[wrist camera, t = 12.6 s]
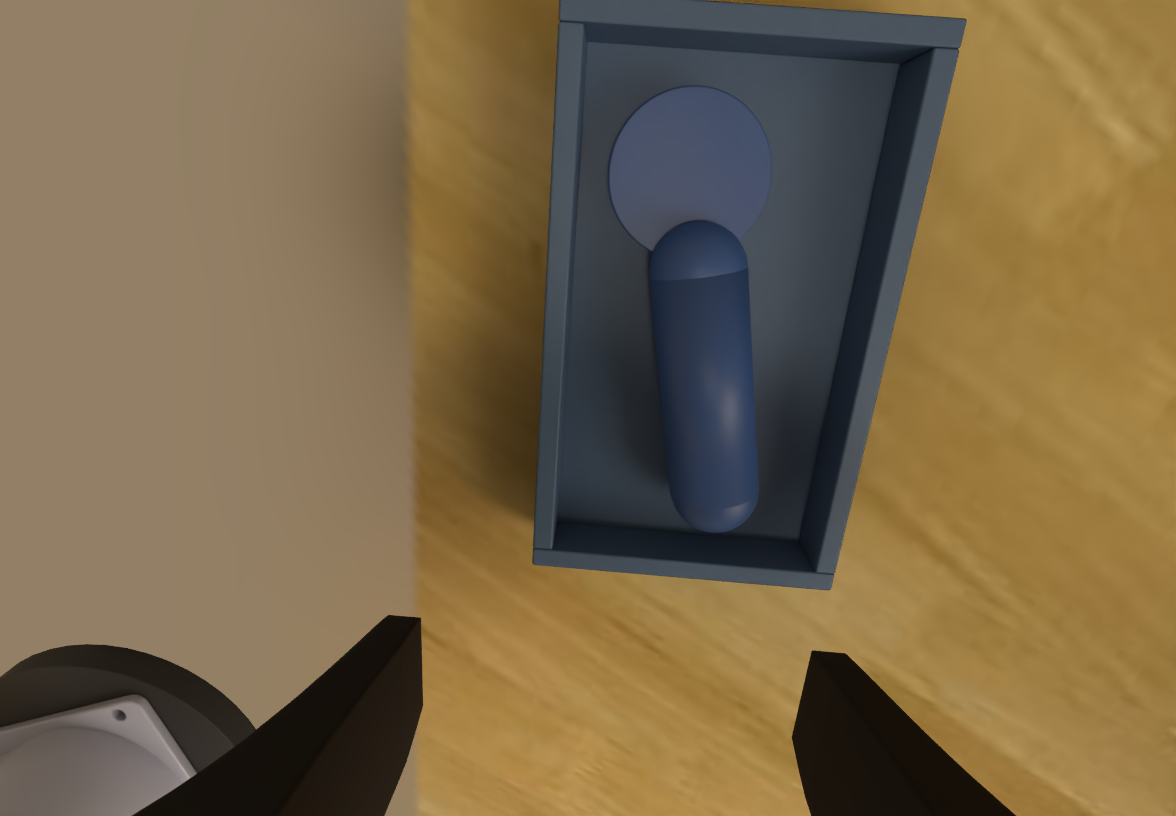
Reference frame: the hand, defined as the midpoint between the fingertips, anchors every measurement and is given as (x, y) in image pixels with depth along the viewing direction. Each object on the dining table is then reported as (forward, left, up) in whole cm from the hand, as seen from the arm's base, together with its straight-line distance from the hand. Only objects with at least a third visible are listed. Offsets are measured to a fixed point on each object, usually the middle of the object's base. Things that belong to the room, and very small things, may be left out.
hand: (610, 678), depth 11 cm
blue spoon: (+4, +5, -9) cm, 11 cm away
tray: (+4, +4, -9) cm, 11 cm away
